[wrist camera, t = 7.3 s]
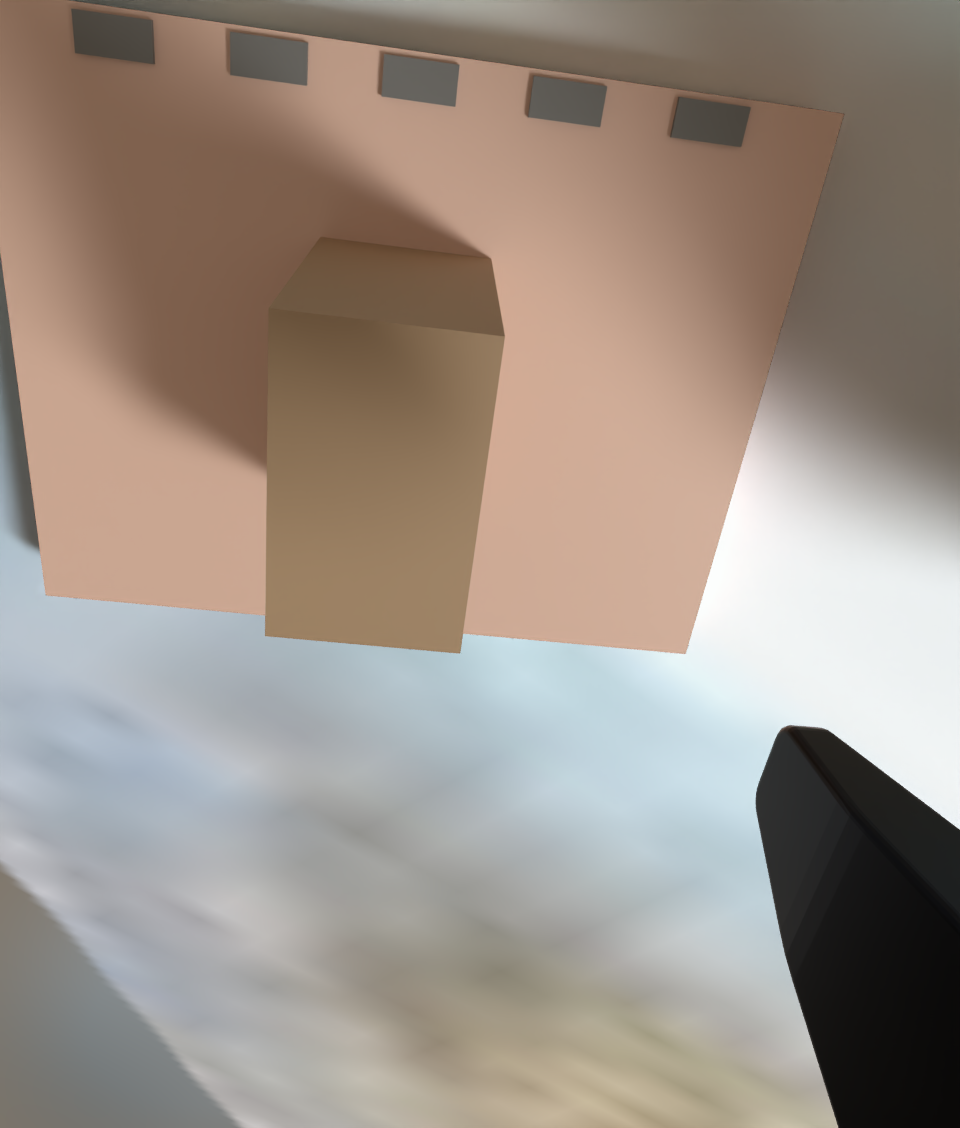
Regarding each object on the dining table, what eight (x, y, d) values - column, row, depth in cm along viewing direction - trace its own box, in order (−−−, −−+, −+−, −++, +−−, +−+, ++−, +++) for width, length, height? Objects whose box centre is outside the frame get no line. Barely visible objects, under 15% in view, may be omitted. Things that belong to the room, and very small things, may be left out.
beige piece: (818, 109, 16) (1006, 139, 10) (674, 624, 21) (748, 818, 16) (-1, -10, 15) (-265, -46, 9) (67, 567, 20) (-76, 755, 15)
